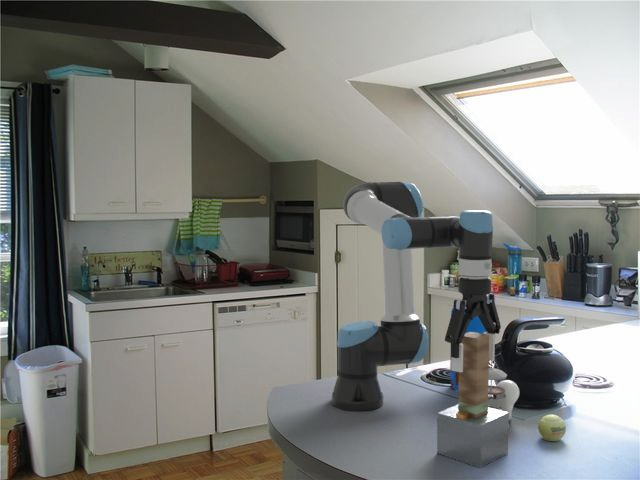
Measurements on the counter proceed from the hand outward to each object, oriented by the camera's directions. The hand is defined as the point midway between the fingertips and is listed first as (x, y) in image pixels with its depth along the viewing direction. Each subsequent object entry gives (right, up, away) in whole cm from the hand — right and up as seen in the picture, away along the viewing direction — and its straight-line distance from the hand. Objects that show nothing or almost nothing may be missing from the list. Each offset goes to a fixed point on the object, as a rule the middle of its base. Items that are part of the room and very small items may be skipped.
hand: (473, 365), depth 166 cm
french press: (+8, -20, +21) cm, 30 cm away
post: (0, -15, +1) cm, 15 cm away
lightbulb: (+14, -19, +24) cm, 34 cm away
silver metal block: (0, -21, +2) cm, 21 cm away
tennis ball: (+22, -21, +11) cm, 32 cm away
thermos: (+10, -17, +54) cm, 57 cm away
